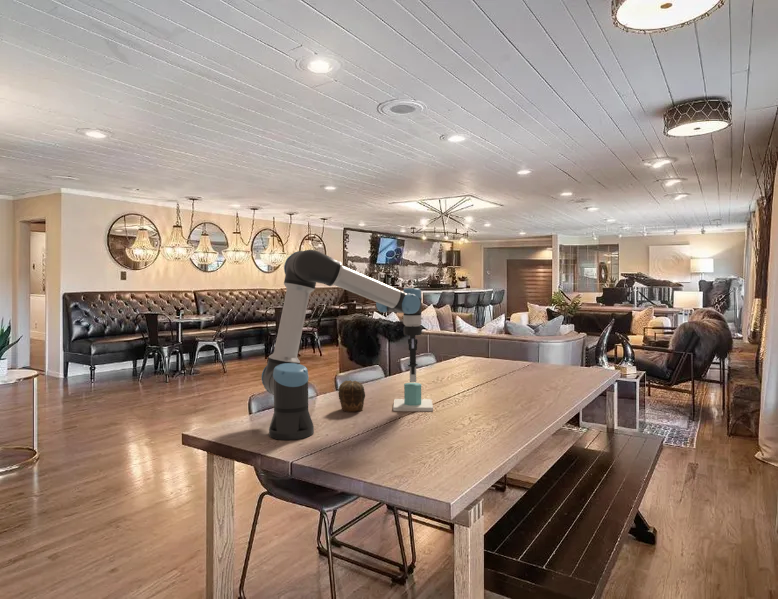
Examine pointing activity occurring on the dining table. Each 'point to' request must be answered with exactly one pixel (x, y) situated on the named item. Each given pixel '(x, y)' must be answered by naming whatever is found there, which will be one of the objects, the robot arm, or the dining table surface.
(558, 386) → the dining table surface
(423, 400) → the post board
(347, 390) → the brown domed block
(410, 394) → the teal cylinder
